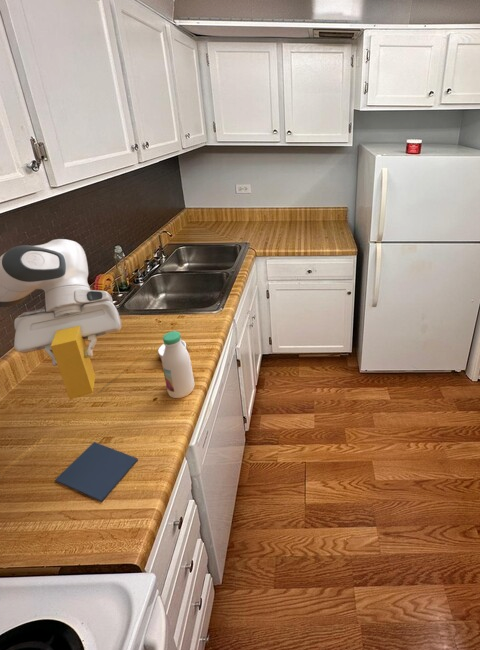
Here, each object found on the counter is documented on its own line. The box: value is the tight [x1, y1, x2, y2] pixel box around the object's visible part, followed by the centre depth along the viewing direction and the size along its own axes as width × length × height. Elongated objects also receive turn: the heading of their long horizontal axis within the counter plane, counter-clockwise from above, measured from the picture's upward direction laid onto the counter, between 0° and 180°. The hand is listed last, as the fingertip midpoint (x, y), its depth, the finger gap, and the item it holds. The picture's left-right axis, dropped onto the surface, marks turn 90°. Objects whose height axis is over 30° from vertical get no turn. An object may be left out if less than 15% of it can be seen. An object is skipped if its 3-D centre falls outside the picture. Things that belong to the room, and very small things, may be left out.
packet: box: [51, 326, 96, 400], centre depth 76 cm, size 6×4×15 cm
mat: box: [54, 441, 139, 503], centre depth 78 cm, size 14×10×1 cm
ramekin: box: [157, 339, 187, 361], centre depth 114 cm, size 9×9×4 cm
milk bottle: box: [161, 330, 195, 399], centre depth 98 cm, size 8×8×20 cm
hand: (73, 360), depth 75 cm, fingers closed on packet, 4 cm apart
